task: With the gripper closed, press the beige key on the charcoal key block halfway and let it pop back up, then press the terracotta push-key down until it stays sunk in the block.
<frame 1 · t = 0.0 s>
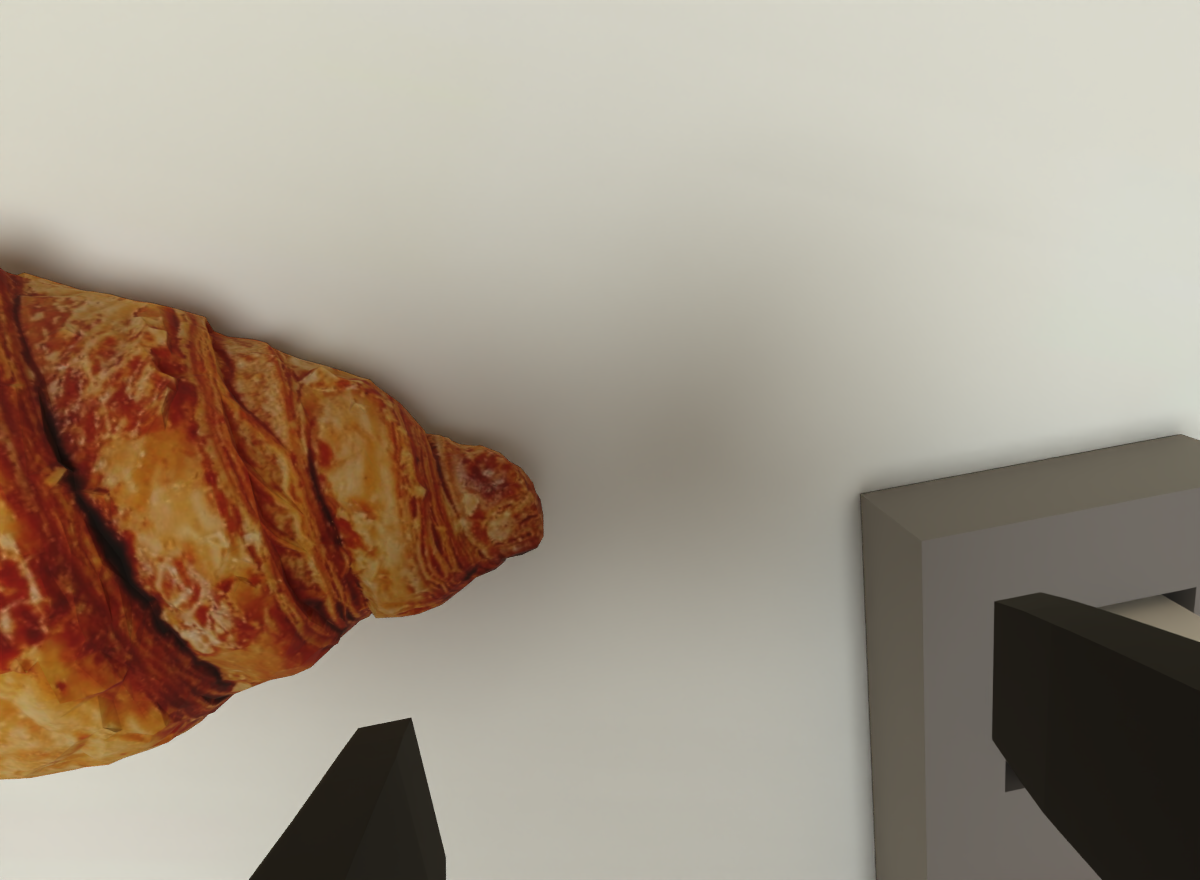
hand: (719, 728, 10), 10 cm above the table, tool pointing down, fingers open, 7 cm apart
key block: (1015, 775, 24), on the table
beige key: (1113, 704, 19), point 4 cm above the table, slide at 0.0 cm
croissant: (65, 469, 18), on the table
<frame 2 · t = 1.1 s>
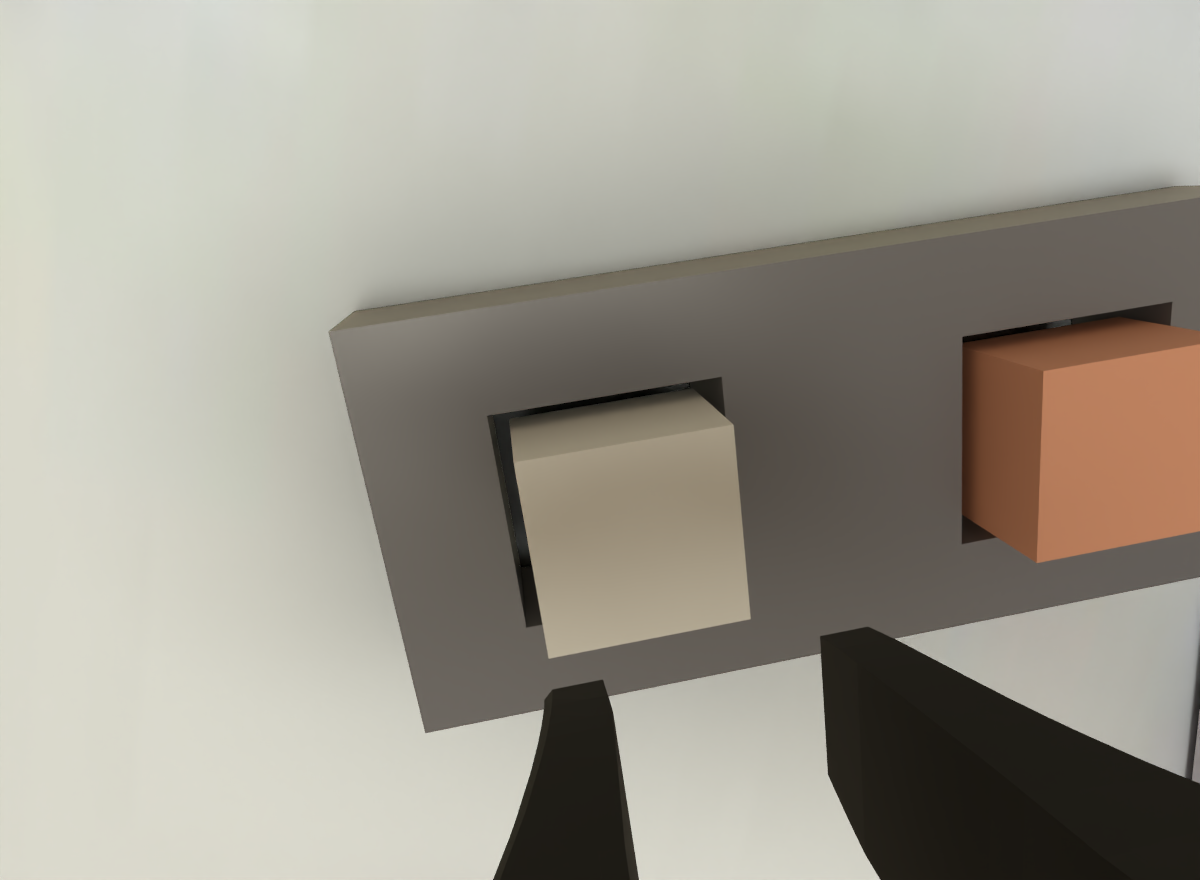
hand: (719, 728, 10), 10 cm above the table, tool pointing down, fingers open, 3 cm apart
key block: (796, 427, 20), on the table
beige key: (625, 514, 16), point 4 cm above the table, slide at 0.0 cm
terracotta key: (1080, 432, 17), point 4 cm above the table, slide at 0.0 cm
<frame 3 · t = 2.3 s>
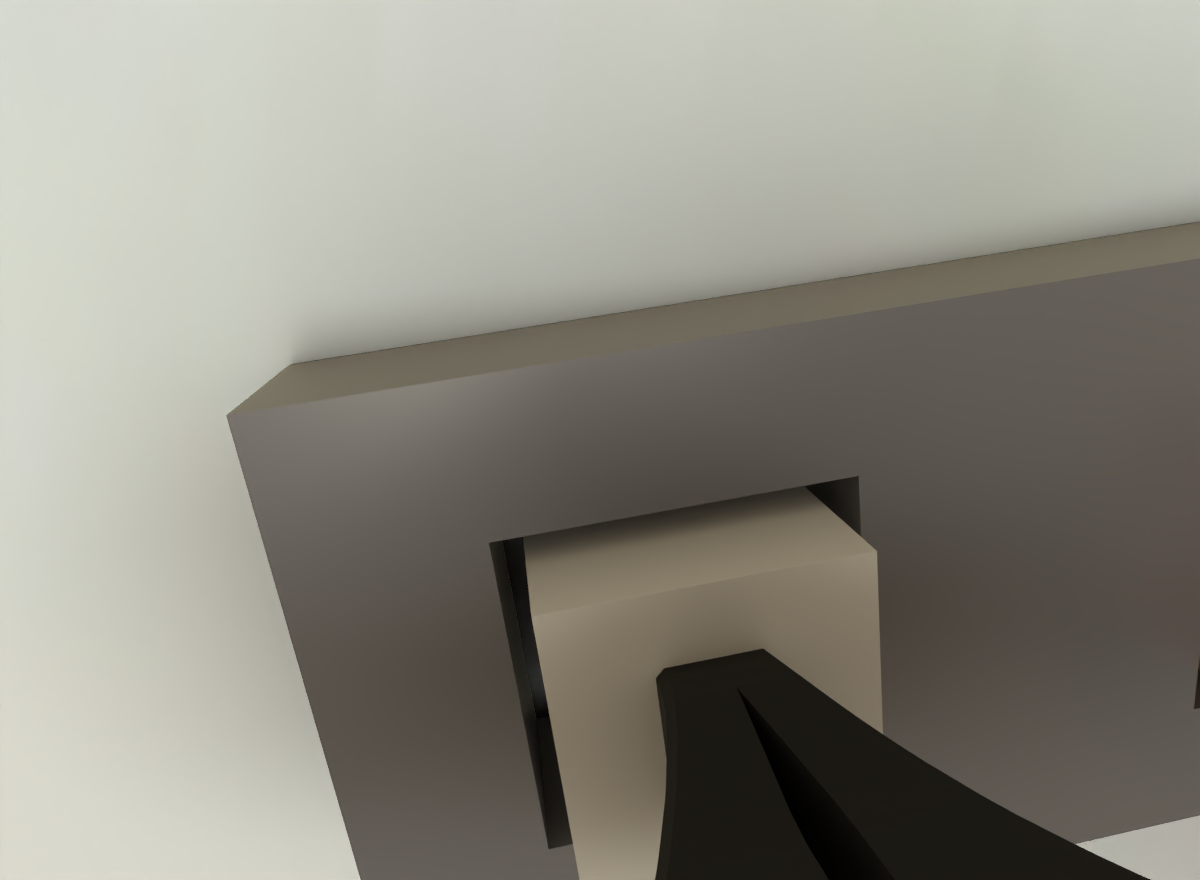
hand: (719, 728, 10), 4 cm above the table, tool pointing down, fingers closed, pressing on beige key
key block: (927, 521, 14), on the table
beige key: (692, 662, 11), point 3 cm above the table, slide at 0.7 cm, touching gripper
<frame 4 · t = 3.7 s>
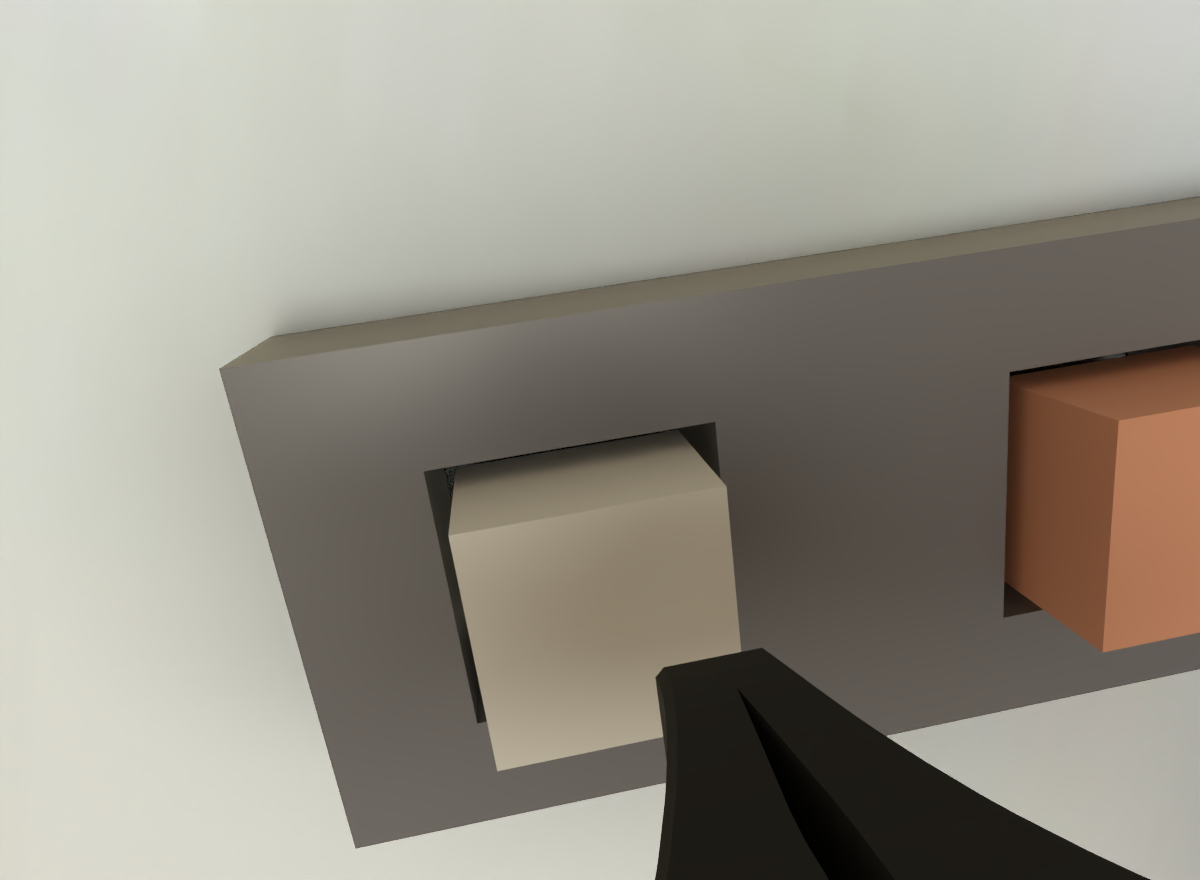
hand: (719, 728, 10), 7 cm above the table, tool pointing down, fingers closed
key block: (804, 472, 17), on the table
beige key: (594, 587, 13), point 3 cm above the table, slide at 0.2 cm
terracotta key: (1150, 487, 14), point 3 cm above the table, slide at 0.0 cm
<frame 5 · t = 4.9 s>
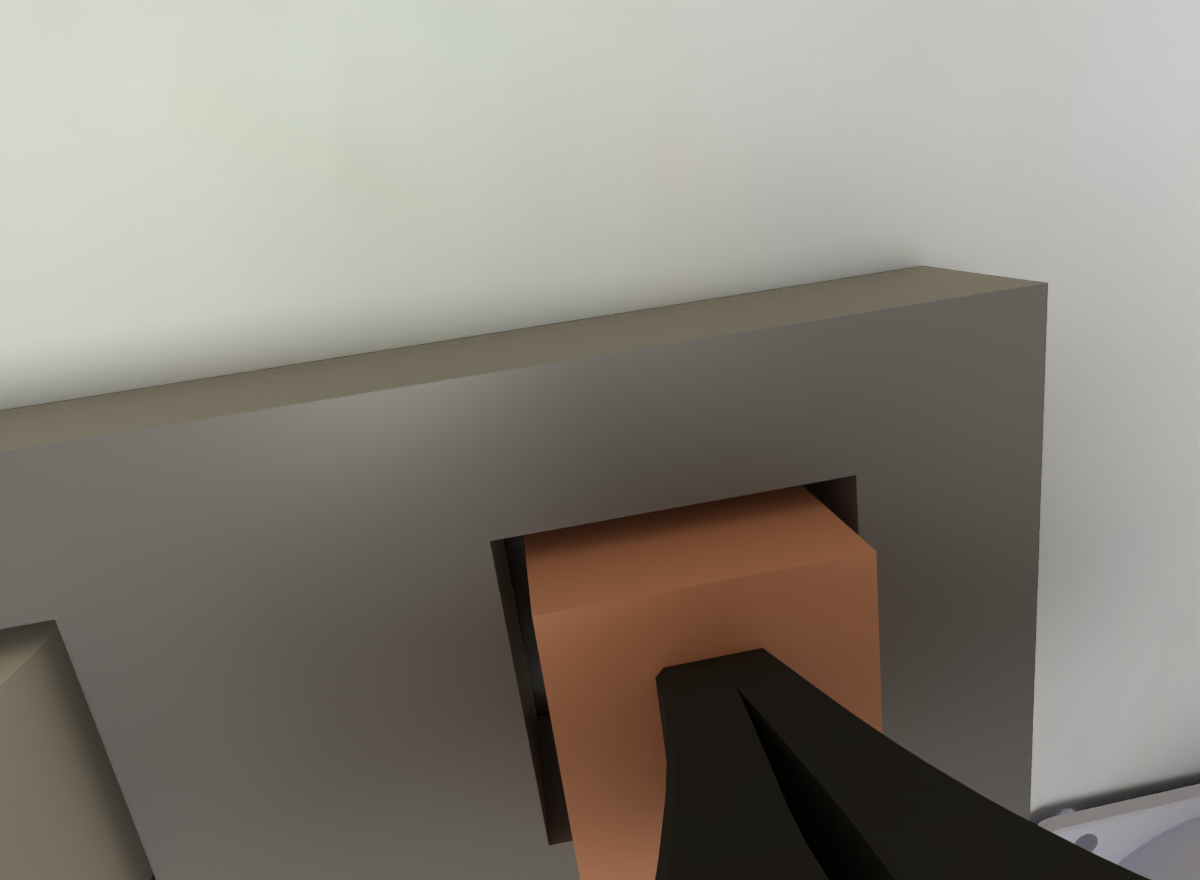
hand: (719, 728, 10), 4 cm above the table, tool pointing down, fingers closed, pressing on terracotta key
key block: (360, 627, 13), on the table
terracotta key: (692, 662, 11), point 3 cm above the table, slide at 0.7 cm, touching gripper
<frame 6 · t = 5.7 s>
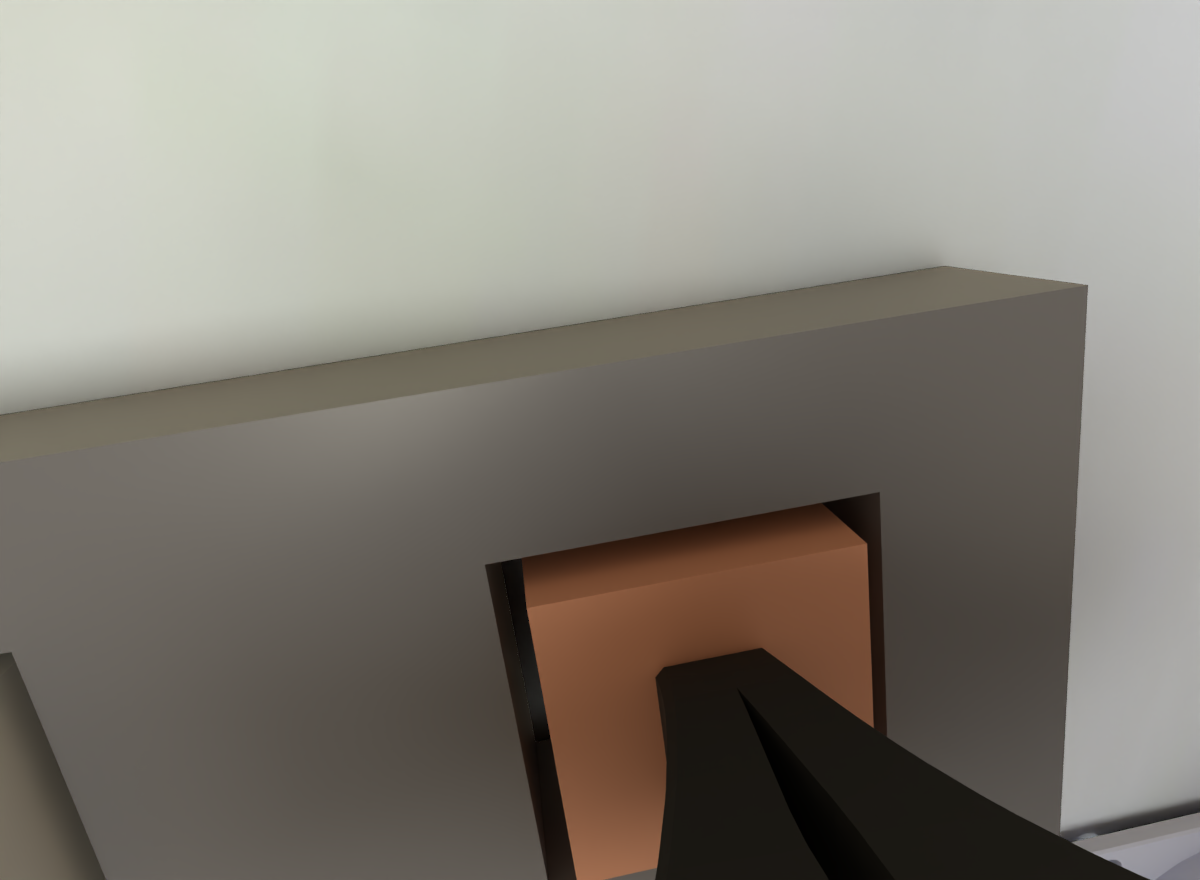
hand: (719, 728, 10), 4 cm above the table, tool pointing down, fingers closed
key block: (348, 649, 12), on the table
terracotta key: (686, 655, 11), point 2 cm above the table, slide at 1.5 cm
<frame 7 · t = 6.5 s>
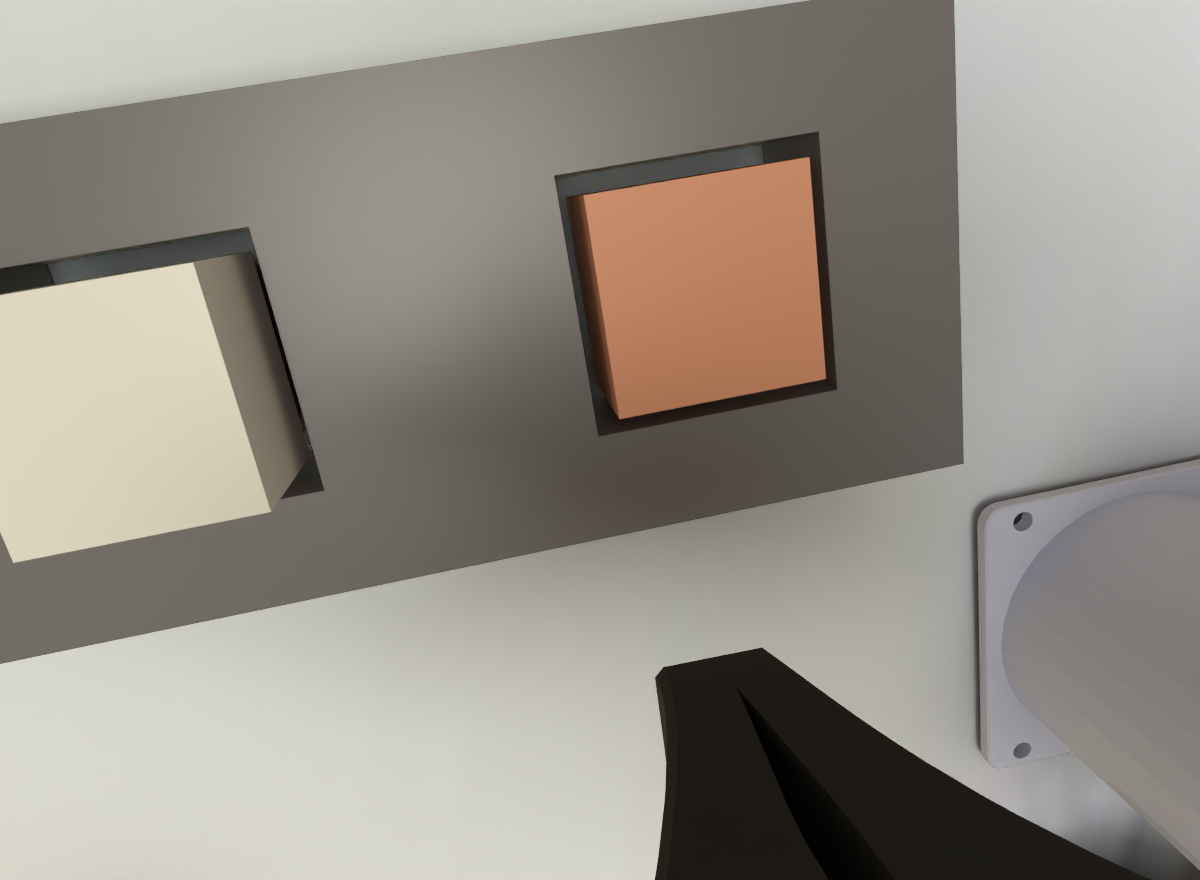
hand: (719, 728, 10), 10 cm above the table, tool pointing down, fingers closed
key block: (443, 316, 17), on the table
beige key: (140, 395, 13), point 3 cm above the table, slide at 0.2 cm
terracotta key: (690, 284, 16), point 2 cm above the table, slide at 1.5 cm
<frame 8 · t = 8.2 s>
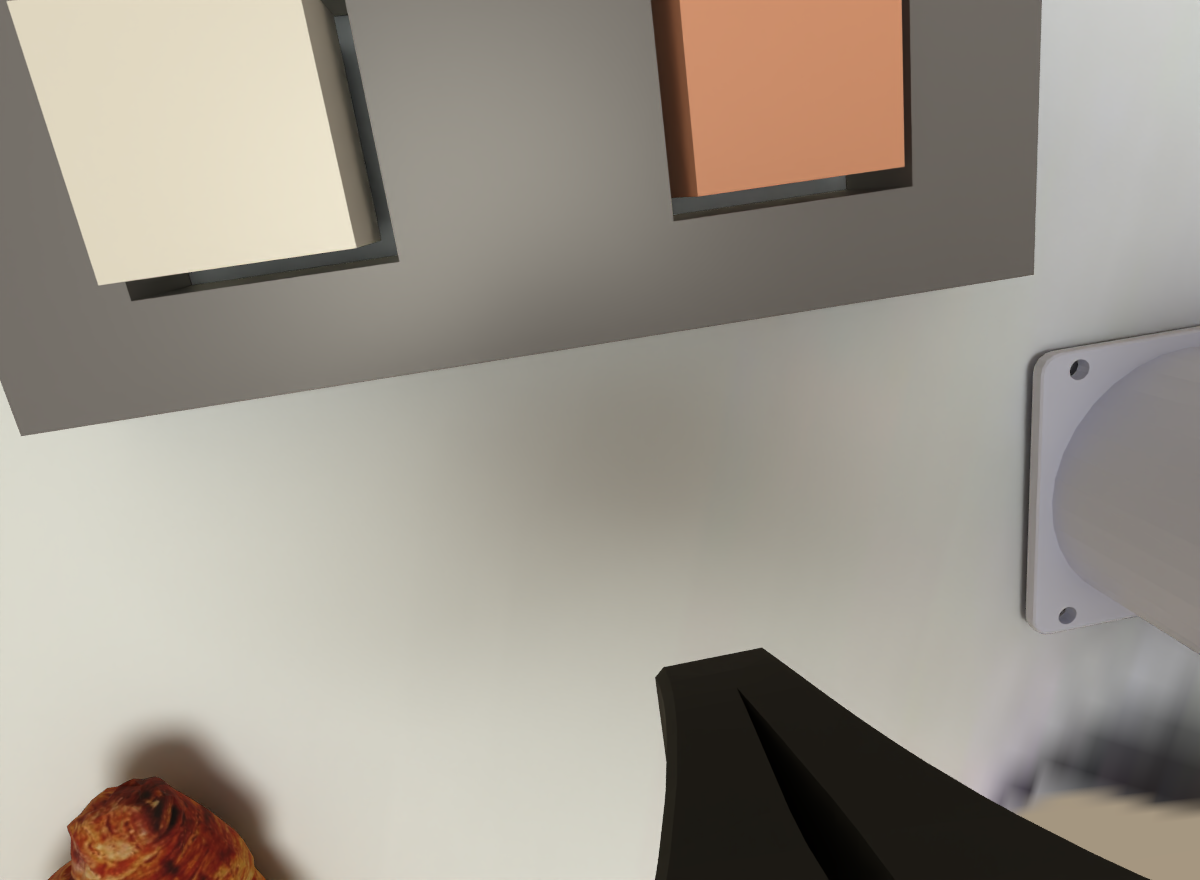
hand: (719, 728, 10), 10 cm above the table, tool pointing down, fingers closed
key block: (513, 121, 17), on the table
beige key: (224, 140, 13), point 3 cm above the table, slide at 0.2 cm
terracotta key: (767, 77, 15), point 2 cm above the table, slide at 1.5 cm
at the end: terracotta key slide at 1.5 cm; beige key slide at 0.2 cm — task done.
